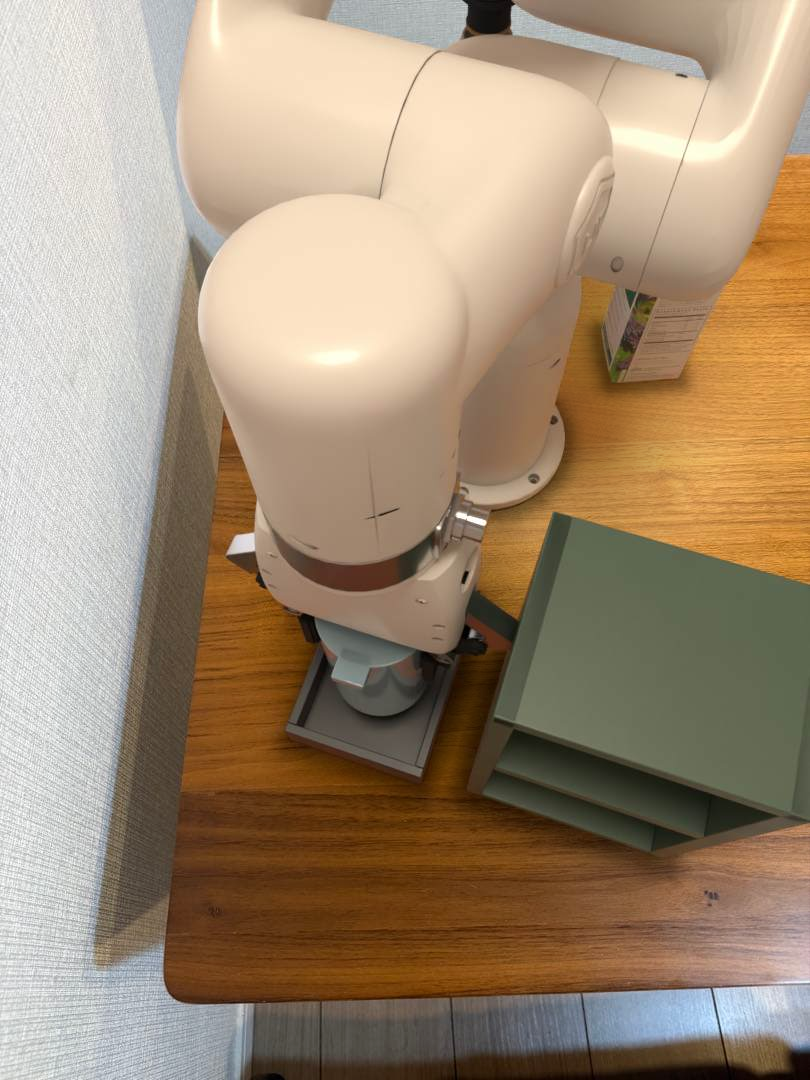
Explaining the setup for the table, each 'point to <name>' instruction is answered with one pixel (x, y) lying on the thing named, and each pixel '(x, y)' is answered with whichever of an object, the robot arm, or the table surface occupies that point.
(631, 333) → the syrup box
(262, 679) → the table surface
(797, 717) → the shelf
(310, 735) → the tray
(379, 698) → the jug
